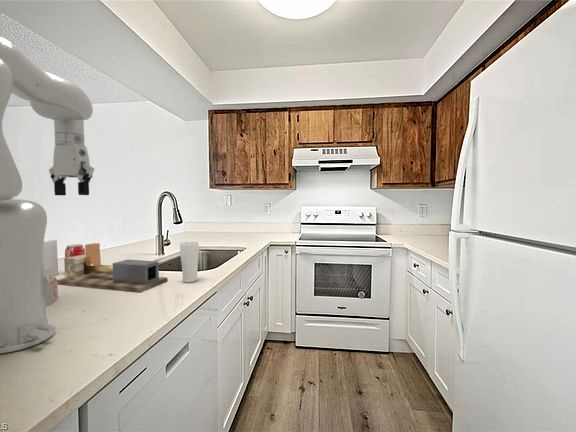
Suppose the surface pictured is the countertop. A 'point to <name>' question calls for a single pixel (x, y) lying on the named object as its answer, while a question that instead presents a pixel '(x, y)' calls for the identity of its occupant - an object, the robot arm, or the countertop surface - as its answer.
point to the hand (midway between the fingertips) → (71, 195)
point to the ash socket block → (77, 268)
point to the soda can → (74, 250)
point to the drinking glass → (189, 260)
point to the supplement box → (50, 255)
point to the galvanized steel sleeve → (136, 272)
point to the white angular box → (50, 287)
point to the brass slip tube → (95, 260)
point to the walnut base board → (109, 283)
